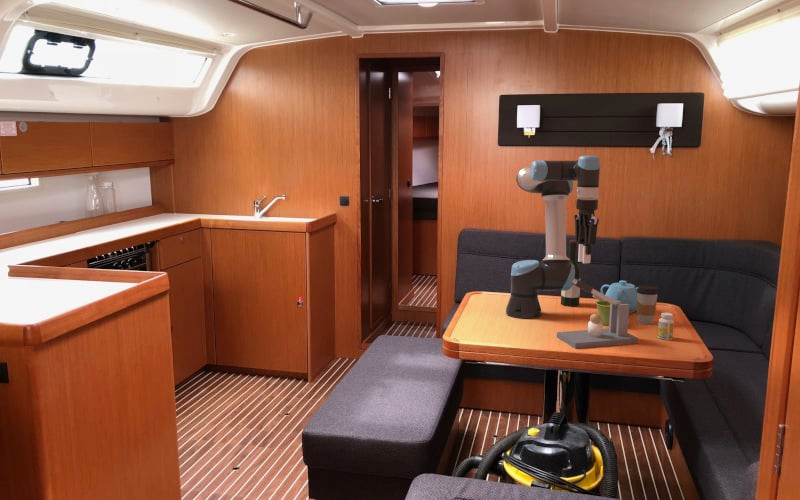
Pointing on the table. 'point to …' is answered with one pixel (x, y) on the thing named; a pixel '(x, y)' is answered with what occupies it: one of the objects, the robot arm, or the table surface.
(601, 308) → the plant pot
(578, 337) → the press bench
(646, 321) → the coffee cup
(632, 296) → the decorative pot
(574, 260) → the wine bottle
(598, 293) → the press lever
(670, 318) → the supplement bottle
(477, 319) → the table surface
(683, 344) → the table surface
